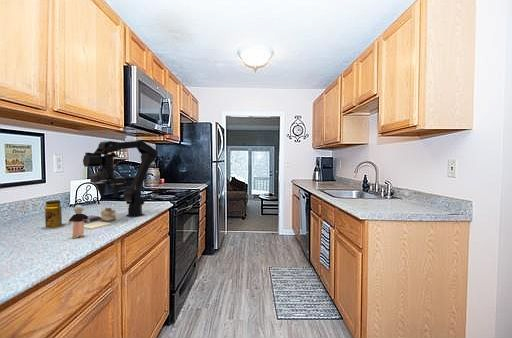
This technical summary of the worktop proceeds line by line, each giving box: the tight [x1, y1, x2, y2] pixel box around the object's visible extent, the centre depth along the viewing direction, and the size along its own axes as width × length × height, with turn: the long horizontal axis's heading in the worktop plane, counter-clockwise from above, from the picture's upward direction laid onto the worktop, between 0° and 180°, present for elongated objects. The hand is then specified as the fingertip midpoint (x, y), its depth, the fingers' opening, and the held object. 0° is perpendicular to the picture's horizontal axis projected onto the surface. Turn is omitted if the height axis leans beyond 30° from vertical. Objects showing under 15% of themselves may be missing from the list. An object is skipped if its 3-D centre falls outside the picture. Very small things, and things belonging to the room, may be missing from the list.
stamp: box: [100, 207, 116, 222], centre depth 140 cm, size 4×4×6 cm
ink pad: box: [71, 215, 101, 224], centre depth 140 cm, size 10×8×2 cm
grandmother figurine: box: [66, 204, 91, 239], centre depth 110 cm, size 8×4×13 cm, turn 148°
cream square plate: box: [84, 220, 117, 231], centre depth 130 cm, size 13×12×1 cm
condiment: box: [42, 199, 68, 230], centre depth 128 cm, size 7×8×12 cm
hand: (108, 197), depth 140 cm, fingers open, 9 cm apart
